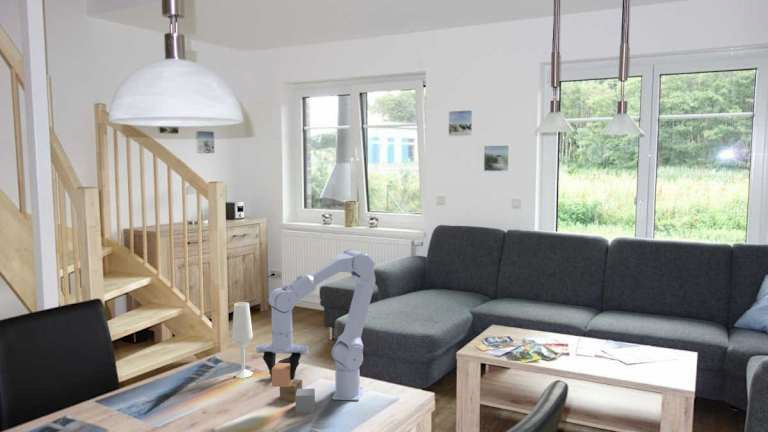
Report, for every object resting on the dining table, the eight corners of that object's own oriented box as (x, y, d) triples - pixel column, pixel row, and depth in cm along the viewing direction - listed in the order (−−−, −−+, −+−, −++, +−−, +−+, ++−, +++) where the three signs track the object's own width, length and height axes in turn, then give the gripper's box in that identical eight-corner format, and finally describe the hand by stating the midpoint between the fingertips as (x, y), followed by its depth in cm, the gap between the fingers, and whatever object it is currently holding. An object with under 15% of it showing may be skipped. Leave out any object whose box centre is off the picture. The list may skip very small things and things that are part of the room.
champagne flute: (229, 374, 196) (227, 303, 194) (247, 369, 201) (245, 300, 198) (239, 380, 192) (237, 307, 189) (257, 375, 196) (256, 304, 194)
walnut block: (287, 393, 181) (286, 378, 180) (302, 395, 180) (302, 379, 179) (279, 400, 176) (279, 384, 176) (295, 402, 175) (295, 386, 174)
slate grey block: (297, 405, 173) (297, 388, 172) (314, 405, 173) (314, 388, 172) (295, 412, 168) (295, 395, 167) (313, 412, 168) (313, 395, 167)
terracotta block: (276, 379, 171) (276, 362, 171) (293, 380, 171) (293, 363, 170) (271, 386, 166) (271, 369, 166) (289, 386, 166) (289, 369, 165)
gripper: (252, 334, 164) (253, 382, 165) (304, 336, 162) (304, 384, 164) (260, 327, 171) (261, 373, 172) (309, 328, 169) (310, 374, 171)
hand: (283, 378), depth 168 cm, fingers closed on terracotta block, 5 cm apart
